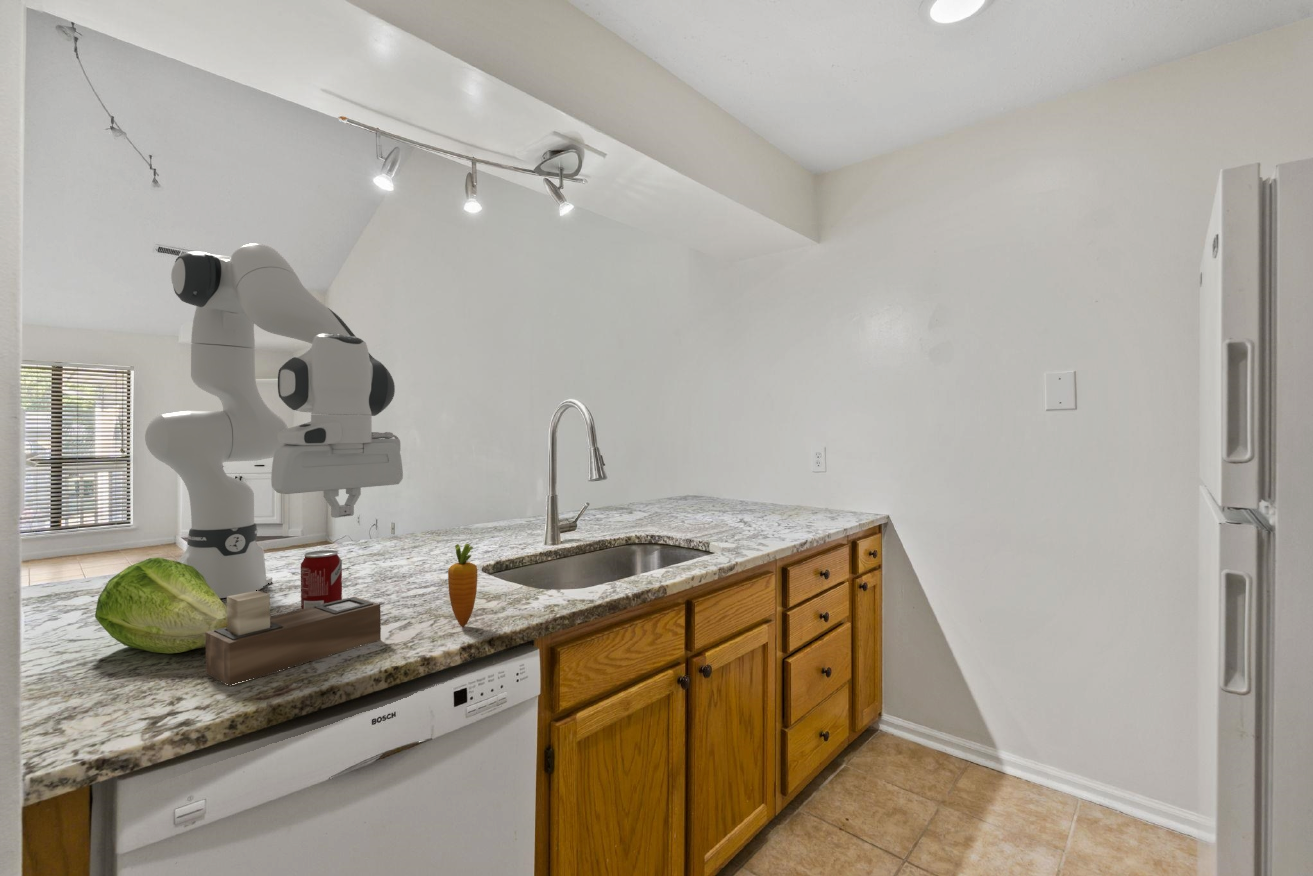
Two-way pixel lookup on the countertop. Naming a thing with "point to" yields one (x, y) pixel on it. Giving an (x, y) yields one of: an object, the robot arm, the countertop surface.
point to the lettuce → (160, 607)
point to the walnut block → (291, 640)
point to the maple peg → (248, 612)
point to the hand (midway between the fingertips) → (342, 516)
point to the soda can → (321, 578)
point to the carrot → (462, 585)
